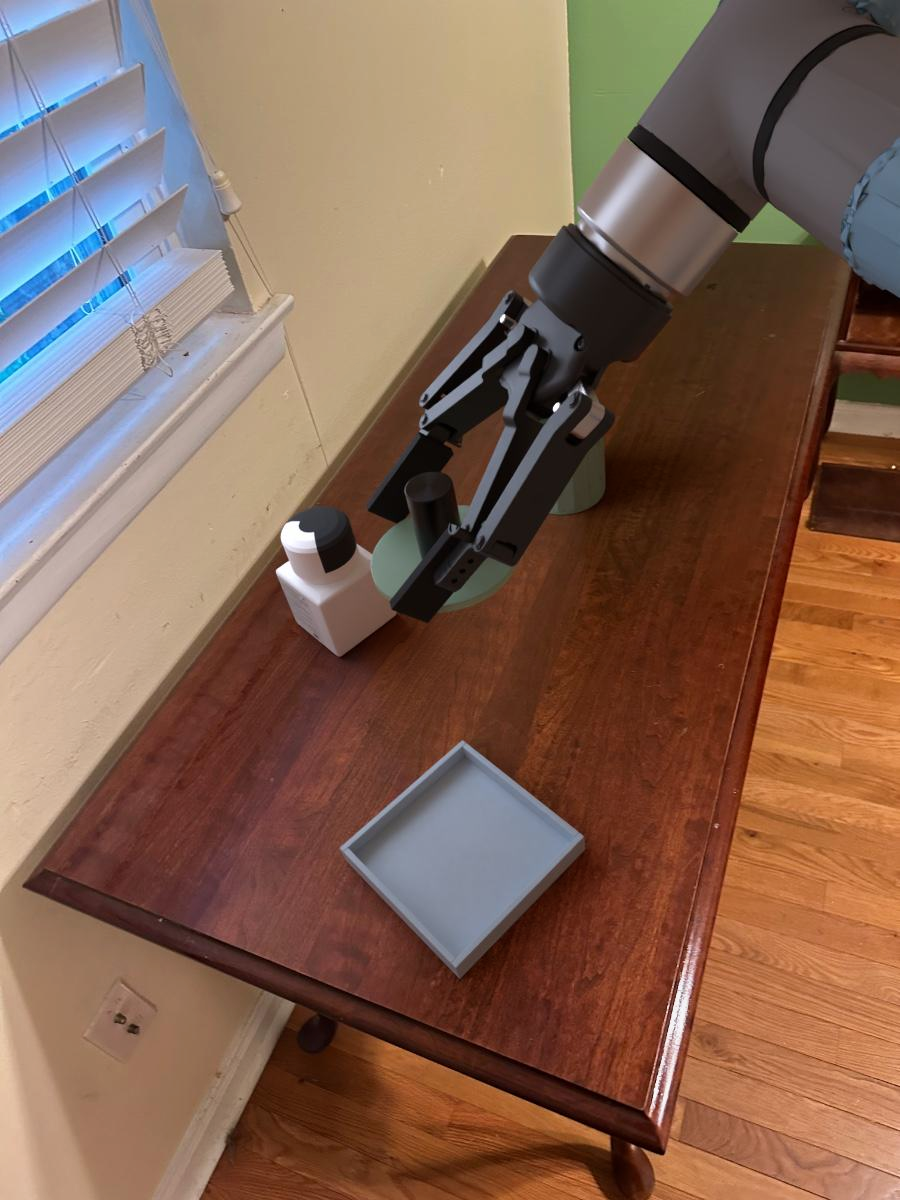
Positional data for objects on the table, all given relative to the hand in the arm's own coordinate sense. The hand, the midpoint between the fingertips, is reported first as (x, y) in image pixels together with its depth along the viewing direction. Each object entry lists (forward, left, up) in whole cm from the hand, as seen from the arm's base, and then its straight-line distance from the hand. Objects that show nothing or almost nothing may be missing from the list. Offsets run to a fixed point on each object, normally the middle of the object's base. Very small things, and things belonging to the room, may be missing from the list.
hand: (395, 560), depth 55 cm
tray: (-6, +5, -25) cm, 26 cm away
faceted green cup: (+18, -34, -25) cm, 46 cm away
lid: (-2, -3, -1) cm, 3 cm away
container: (+22, -5, -25) cm, 33 cm away
